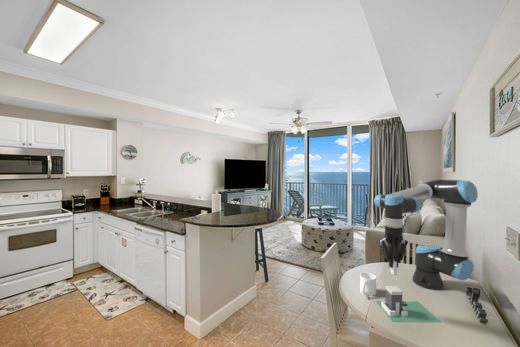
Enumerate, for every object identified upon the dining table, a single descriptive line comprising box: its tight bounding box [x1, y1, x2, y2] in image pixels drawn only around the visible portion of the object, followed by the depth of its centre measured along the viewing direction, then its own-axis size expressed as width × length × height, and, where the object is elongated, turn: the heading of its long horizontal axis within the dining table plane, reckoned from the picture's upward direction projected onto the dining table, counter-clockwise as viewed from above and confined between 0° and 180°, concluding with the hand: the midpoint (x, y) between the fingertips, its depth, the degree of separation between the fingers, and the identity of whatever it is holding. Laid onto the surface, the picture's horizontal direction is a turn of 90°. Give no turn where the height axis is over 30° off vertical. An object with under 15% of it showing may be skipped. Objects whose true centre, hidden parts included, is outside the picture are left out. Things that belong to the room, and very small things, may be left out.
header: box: [380, 300, 408, 316], centre depth 109 cm, size 8×8×2 cm
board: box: [375, 298, 442, 323], centre depth 109 cm, size 22×16×3 cm
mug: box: [359, 272, 377, 298], centre depth 125 cm, size 12×8×10 cm
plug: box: [385, 285, 404, 315], centre depth 109 cm, size 5×6×11 cm
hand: (393, 273), depth 109 cm, fingers closed
